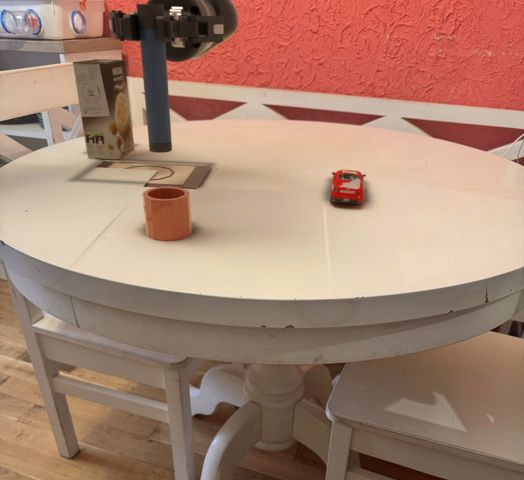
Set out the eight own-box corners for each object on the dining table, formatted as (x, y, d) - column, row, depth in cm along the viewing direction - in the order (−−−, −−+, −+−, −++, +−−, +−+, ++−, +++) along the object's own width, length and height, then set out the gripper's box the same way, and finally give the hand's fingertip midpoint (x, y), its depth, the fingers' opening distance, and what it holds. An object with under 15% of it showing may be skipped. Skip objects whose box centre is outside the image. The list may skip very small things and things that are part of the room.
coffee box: (119, 160, 95) (106, 63, 86) (86, 158, 96) (70, 61, 86) (135, 149, 102) (125, 59, 93) (105, 147, 103) (93, 57, 94)
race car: (331, 183, 86) (334, 159, 84) (363, 185, 85) (366, 161, 83) (326, 207, 75) (329, 180, 73) (362, 210, 75) (366, 183, 72)
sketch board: (74, 185, 81) (73, 180, 80) (103, 164, 92) (102, 159, 92) (196, 192, 80) (196, 187, 79) (210, 169, 91) (210, 164, 91)
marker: (146, 152, 57) (132, 3, 49) (152, 147, 59) (140, 4, 51) (169, 153, 57) (159, 4, 49) (174, 148, 59) (166, 5, 51)
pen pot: (142, 243, 62) (137, 199, 59) (153, 227, 67) (149, 185, 64) (186, 245, 62) (183, 201, 59) (195, 229, 66) (193, 187, 63)
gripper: (123, -14, 61) (67, -22, 47) (235, -9, 61) (213, -16, 47) (130, 57, 66) (80, 69, 51) (235, 62, 65) (215, 75, 51)
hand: (144, 28), depth 49 cm, fingers closed on marker, 2 cm apart
